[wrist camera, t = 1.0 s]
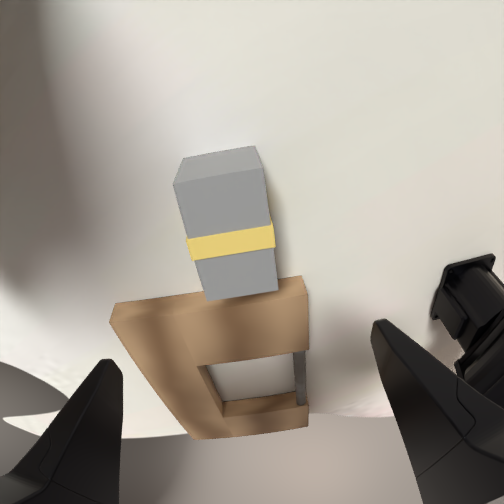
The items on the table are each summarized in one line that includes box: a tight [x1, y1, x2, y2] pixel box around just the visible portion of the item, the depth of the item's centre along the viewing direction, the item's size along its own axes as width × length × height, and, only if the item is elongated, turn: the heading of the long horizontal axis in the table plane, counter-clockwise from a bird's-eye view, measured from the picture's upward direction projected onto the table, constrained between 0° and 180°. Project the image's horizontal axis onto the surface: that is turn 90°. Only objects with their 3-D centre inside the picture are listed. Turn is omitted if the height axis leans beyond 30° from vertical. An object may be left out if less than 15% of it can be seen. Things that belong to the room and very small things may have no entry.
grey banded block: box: [173, 146, 279, 301], centre depth 17 cm, size 4×7×4 cm, turn 8°
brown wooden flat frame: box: [109, 276, 309, 440], centre depth 27 cm, size 14×22×2 cm, turn 8°
